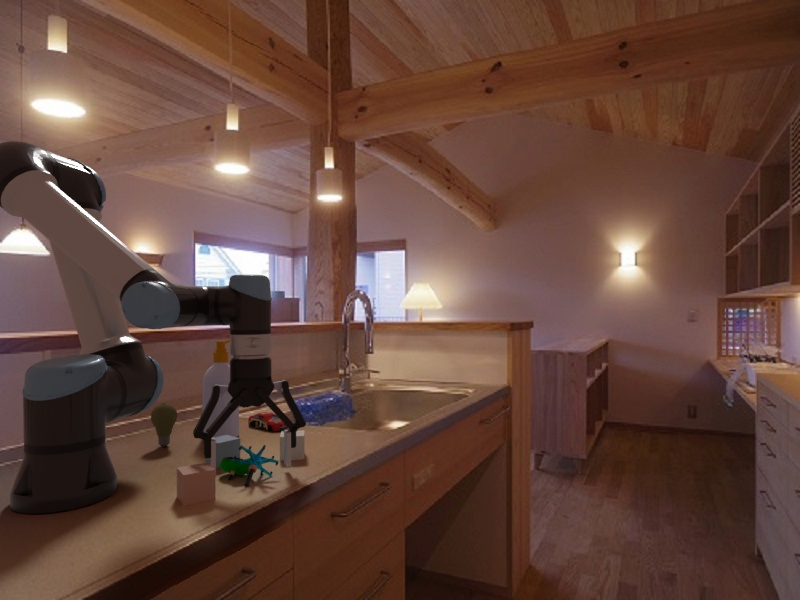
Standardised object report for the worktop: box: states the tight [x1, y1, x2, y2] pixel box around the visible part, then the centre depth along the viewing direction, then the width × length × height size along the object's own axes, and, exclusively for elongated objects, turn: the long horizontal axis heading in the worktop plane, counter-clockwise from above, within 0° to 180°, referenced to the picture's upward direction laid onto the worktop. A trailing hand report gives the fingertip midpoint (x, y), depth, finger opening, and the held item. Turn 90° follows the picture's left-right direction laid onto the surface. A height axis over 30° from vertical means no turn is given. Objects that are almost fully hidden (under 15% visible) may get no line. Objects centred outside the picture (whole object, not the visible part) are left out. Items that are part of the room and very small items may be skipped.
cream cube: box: [279, 430, 306, 462], centre depth 110 cm, size 5×5×5 cm
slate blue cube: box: [204, 435, 241, 469], centre depth 106 cm, size 5×5×5 cm
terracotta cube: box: [176, 462, 216, 507], centre depth 86 cm, size 5×5×5 cm
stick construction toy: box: [219, 444, 280, 487], centre depth 95 cm, size 12×7×8 cm
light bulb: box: [150, 402, 178, 448], centre depth 119 cm, size 6×6×10 cm
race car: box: [247, 411, 288, 433], centre depth 138 cm, size 13×5×4 cm, turn 49°
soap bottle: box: [201, 339, 240, 438], centre depth 128 cm, size 9×9×24 cm
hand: (251, 470), depth 97 cm, fingers open, 13 cm apart
